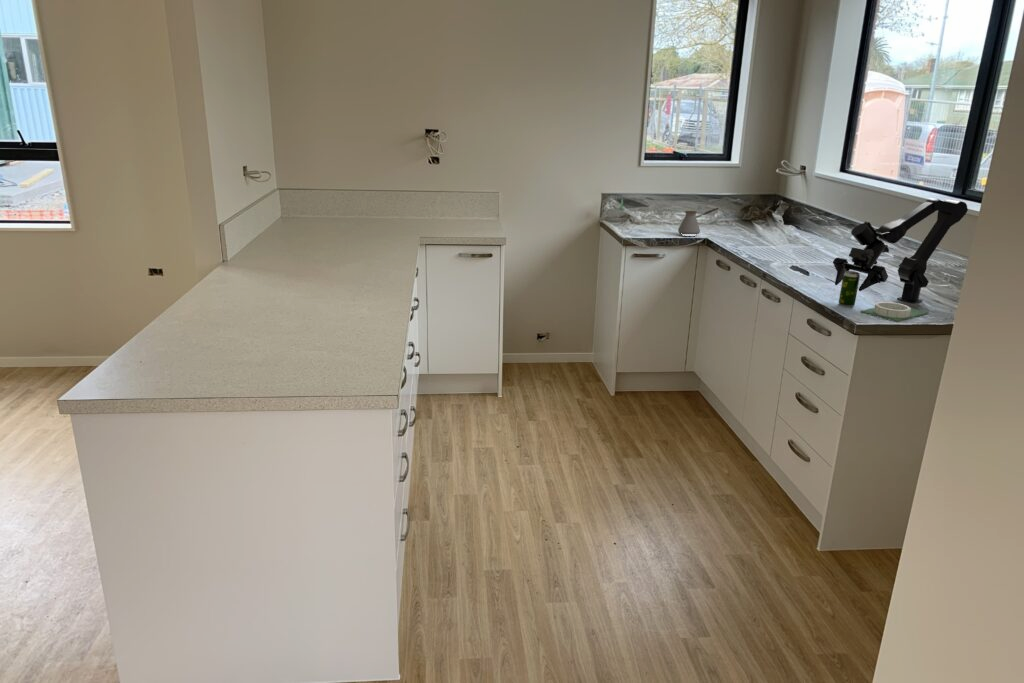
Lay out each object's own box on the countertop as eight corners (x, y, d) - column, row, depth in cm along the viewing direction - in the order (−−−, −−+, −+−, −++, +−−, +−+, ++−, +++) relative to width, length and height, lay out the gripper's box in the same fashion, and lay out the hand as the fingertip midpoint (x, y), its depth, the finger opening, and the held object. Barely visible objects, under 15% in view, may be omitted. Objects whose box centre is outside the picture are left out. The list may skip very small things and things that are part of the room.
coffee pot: (682, 237, 381) (685, 209, 376) (674, 233, 392) (677, 205, 387) (720, 237, 384) (724, 209, 380) (711, 233, 395) (715, 206, 390)
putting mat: (892, 304, 264) (892, 303, 263) (928, 313, 253) (928, 312, 253) (860, 312, 253) (861, 310, 253) (897, 321, 243) (897, 320, 242)
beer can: (849, 303, 264) (855, 271, 260) (857, 307, 259) (863, 274, 255) (835, 303, 263) (840, 270, 260) (843, 307, 258) (849, 274, 254)
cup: (884, 307, 258) (886, 300, 257) (915, 314, 250) (917, 307, 249) (867, 311, 252) (868, 304, 251) (898, 319, 244) (899, 312, 243)
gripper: (840, 235, 263) (817, 268, 261) (890, 244, 249) (865, 279, 246) (848, 254, 270) (826, 286, 267) (897, 264, 255) (874, 298, 253)
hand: (847, 287), depth 258 cm, fingers open, 9 cm apart
